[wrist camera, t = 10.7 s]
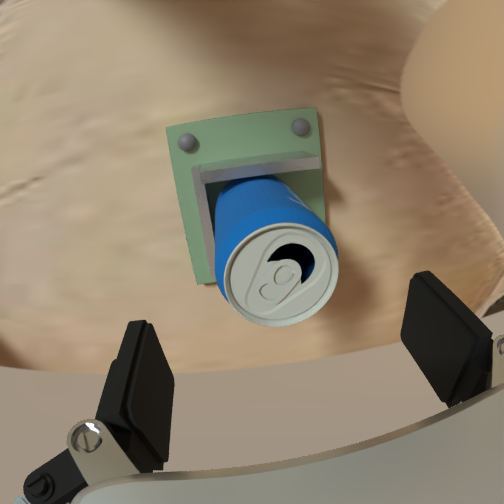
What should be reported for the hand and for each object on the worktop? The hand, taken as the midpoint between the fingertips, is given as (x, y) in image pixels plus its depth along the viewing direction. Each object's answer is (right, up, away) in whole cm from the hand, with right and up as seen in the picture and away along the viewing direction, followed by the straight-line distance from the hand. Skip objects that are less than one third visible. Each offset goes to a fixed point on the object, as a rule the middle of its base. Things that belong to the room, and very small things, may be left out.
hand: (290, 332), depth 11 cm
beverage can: (-1, +6, +15) cm, 17 cm away
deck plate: (-1, +7, +16) cm, 18 cm away
